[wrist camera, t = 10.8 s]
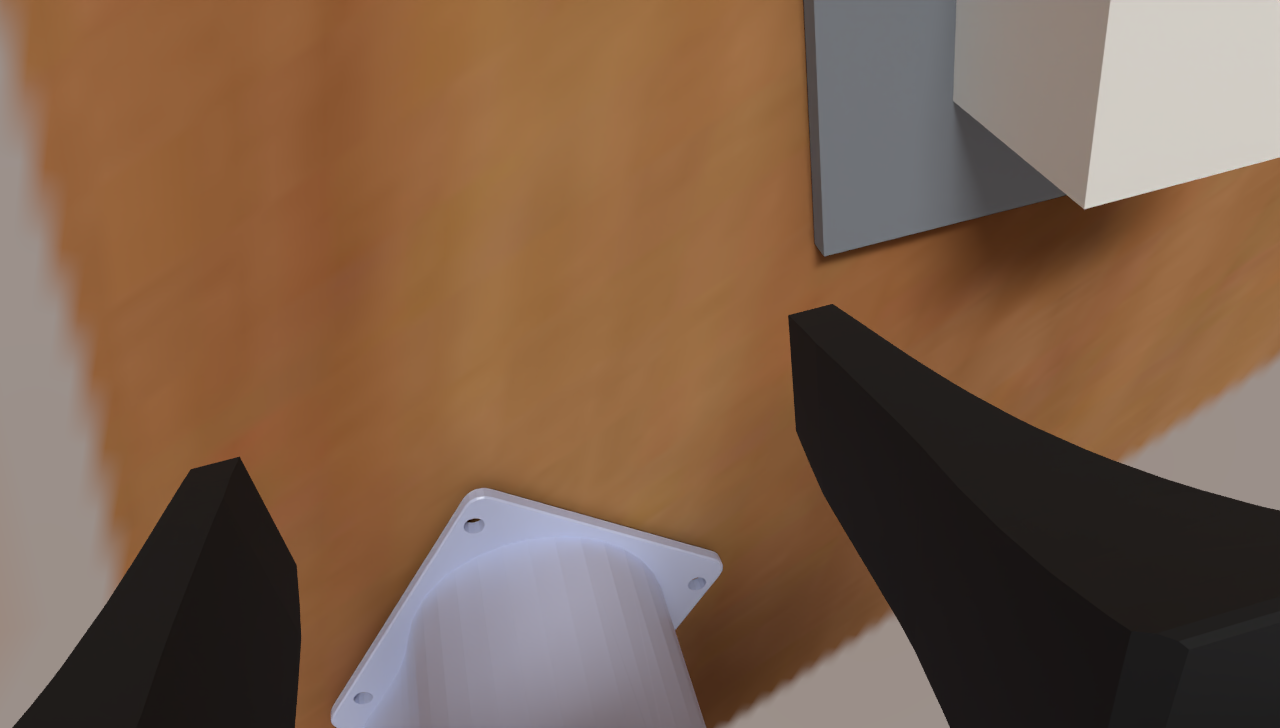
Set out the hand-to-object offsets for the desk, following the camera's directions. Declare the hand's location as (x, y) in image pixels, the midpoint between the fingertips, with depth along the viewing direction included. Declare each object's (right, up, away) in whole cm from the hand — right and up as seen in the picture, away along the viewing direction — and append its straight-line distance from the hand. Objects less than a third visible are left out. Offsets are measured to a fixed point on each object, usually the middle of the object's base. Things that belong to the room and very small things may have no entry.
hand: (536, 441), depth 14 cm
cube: (+10, +9, +7) cm, 15 cm away
